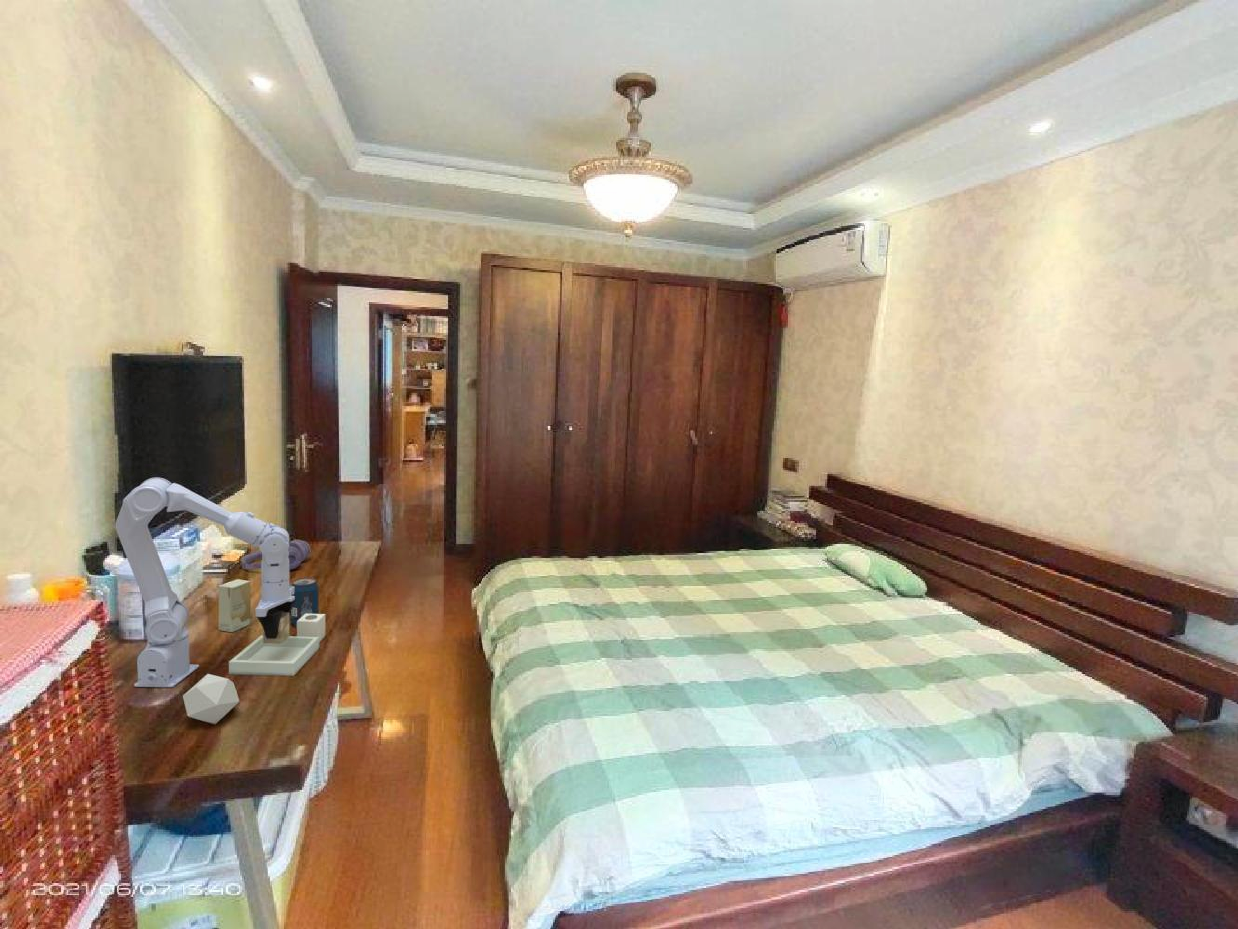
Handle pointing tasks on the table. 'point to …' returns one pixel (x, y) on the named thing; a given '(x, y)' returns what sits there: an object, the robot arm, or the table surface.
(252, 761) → the table surface
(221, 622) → the skincare box
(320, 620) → the oversize block
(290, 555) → the headphones
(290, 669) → the tray
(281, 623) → the birch block
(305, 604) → the soda can
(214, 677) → the die
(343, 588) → the table surface
